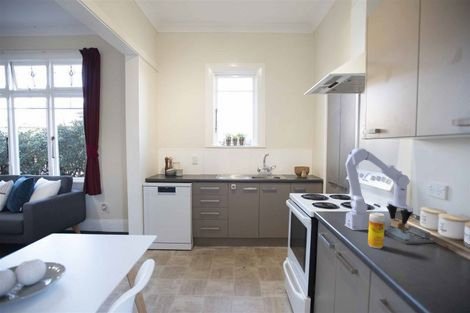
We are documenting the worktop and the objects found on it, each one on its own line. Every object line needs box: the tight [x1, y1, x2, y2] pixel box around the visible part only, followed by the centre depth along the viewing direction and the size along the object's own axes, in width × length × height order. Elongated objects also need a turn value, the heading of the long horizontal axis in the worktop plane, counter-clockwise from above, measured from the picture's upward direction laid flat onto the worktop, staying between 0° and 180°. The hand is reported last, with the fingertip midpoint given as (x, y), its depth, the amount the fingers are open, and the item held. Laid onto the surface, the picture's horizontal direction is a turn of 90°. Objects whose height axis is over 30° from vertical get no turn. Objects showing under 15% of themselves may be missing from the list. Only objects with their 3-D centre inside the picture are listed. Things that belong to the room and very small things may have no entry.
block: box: [390, 220, 406, 231], centre depth 131 cm, size 4×4×5 cm
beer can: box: [367, 211, 386, 249], centre depth 111 cm, size 6×6×15 cm
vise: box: [385, 225, 435, 245], centre depth 121 cm, size 16×12×4 cm
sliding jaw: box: [387, 225, 410, 240], centre depth 120 cm, size 3×10×3 cm, turn 10°
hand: (398, 221), depth 131 cm, fingers open, 7 cm apart
